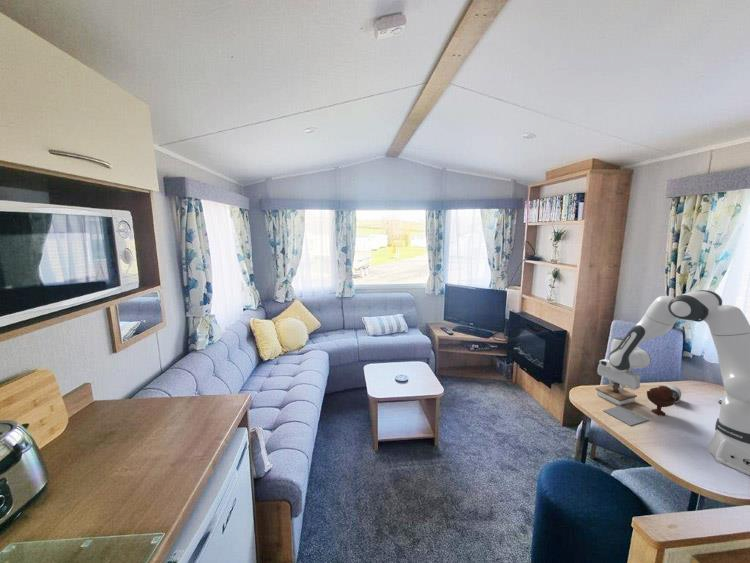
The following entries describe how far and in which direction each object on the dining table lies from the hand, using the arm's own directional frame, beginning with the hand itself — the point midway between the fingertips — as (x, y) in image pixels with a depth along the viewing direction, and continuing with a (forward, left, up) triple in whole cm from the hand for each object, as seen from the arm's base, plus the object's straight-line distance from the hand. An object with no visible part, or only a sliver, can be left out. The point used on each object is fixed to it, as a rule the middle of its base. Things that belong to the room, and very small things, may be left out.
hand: (616, 389), depth 169 cm
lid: (0, 0, -2) cm, 2 cm away
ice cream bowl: (-17, -6, -6) cm, 19 cm away
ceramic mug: (-10, -25, -6) cm, 28 cm away
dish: (0, 0, -5) cm, 5 cm away
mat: (-13, +12, -5) cm, 18 cm away
